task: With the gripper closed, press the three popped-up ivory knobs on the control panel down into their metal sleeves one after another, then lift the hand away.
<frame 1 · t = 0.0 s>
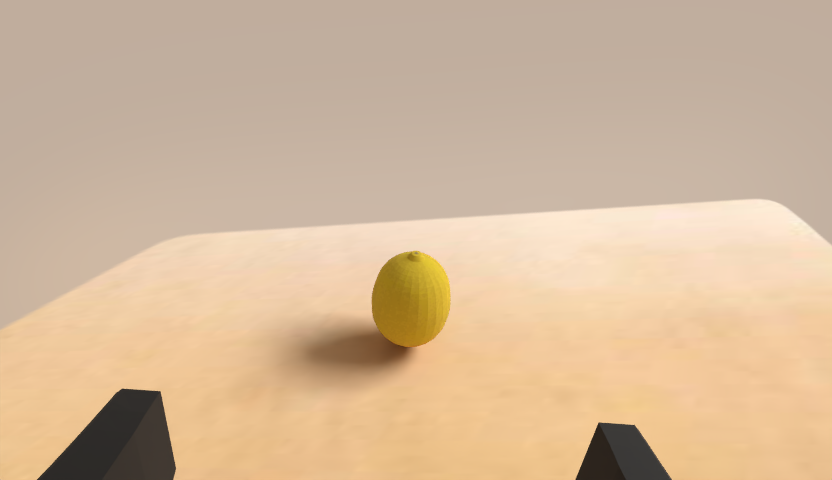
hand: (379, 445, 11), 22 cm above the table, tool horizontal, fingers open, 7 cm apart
lemon: (405, 346, 47), on the table
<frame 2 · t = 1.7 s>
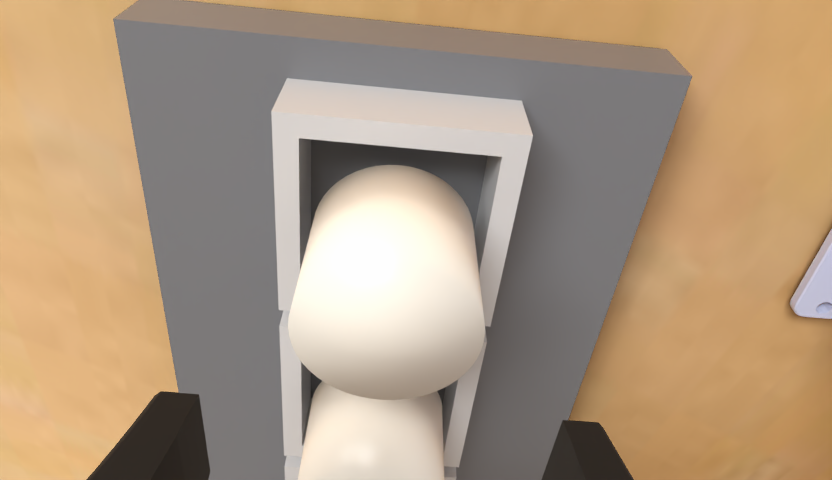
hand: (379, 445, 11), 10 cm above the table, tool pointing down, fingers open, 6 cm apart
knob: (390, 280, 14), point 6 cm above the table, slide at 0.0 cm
knob mid: (373, 457, 18), point 6 cm above the table, slide at 0.0 cm
panel: (383, 316, 23), on the table
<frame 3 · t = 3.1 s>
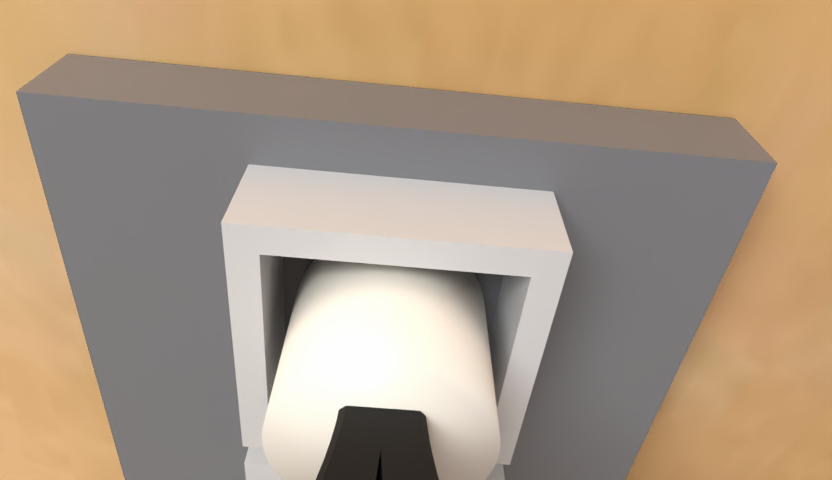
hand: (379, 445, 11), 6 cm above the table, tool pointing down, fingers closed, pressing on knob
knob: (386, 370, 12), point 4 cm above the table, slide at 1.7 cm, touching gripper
panel: (378, 415, 19), on the table
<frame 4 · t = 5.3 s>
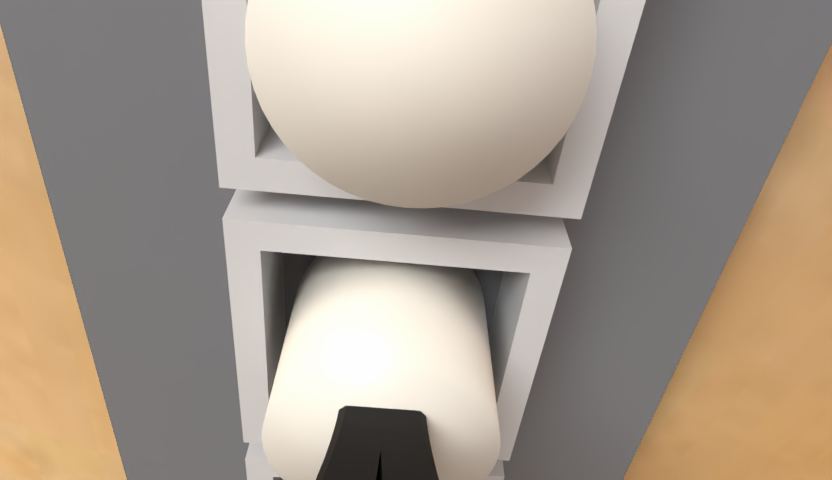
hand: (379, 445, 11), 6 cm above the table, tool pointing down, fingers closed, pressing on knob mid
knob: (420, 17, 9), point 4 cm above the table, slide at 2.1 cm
knob mid: (386, 369, 12), point 4 cm above the table, slide at 1.6 cm, touching gripper
panel: (394, 239, 16), on the table
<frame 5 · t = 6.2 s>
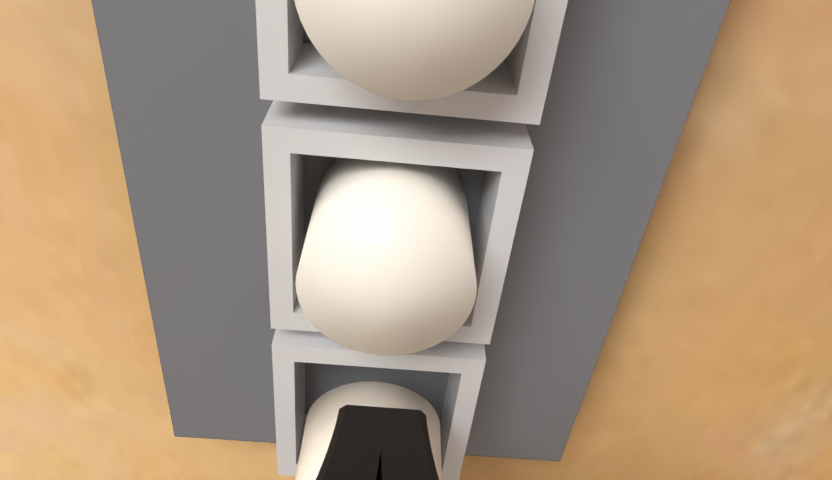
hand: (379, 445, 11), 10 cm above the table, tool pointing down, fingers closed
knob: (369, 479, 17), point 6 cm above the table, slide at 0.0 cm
knob mid: (389, 245, 15), point 4 cm above the table, slide at 2.1 cm
panel: (394, 168, 19), on the table
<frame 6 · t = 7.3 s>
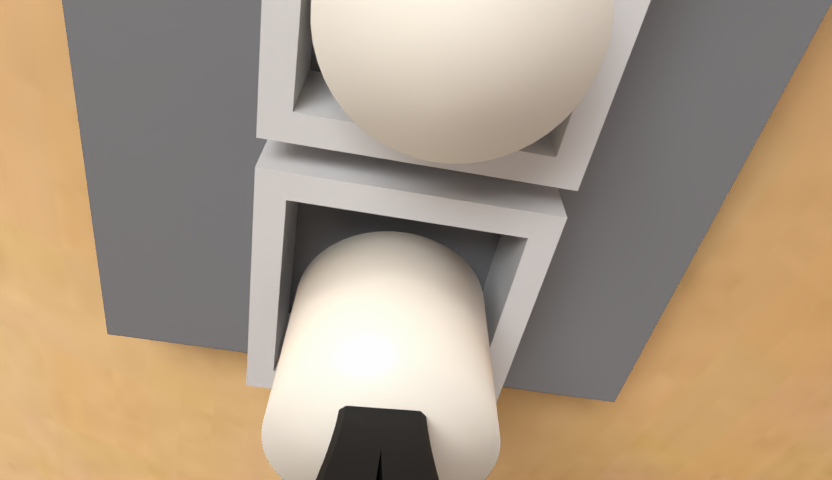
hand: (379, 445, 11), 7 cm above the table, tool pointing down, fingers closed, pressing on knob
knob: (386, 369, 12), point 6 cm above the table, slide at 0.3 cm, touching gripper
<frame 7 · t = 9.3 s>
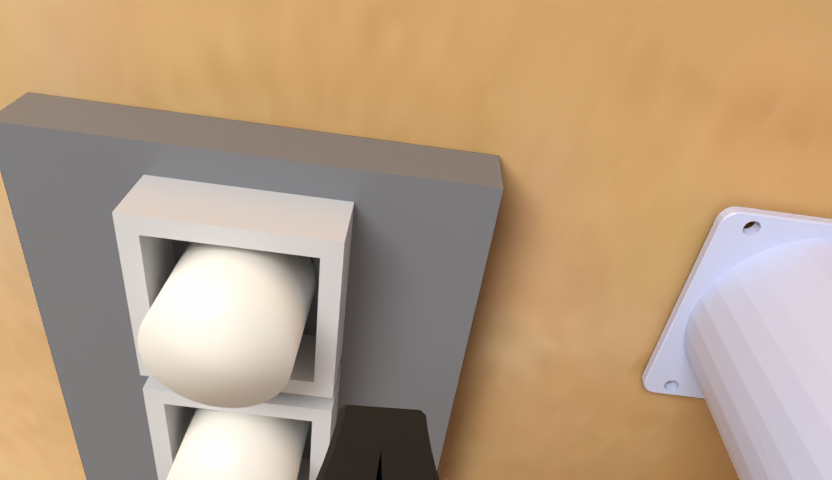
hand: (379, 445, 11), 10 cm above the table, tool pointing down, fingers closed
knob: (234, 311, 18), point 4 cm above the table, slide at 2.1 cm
knob mid: (241, 455, 22), point 4 cm above the table, slide at 2.1 cm
panel: (268, 371, 25), on the table
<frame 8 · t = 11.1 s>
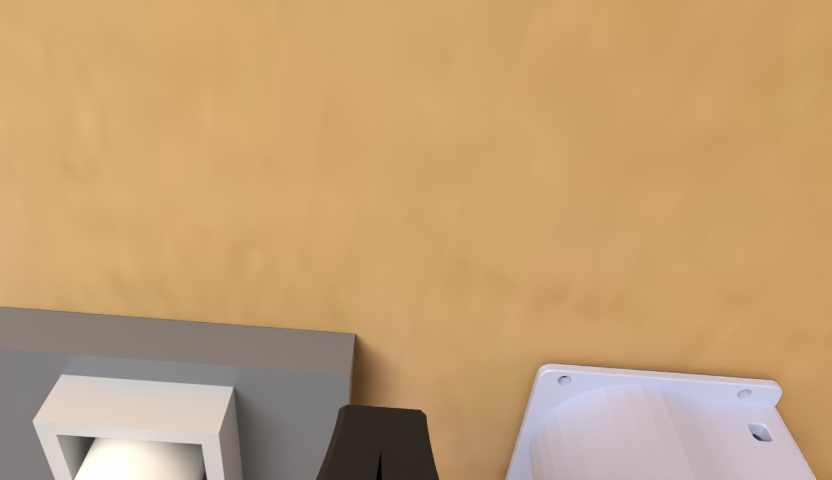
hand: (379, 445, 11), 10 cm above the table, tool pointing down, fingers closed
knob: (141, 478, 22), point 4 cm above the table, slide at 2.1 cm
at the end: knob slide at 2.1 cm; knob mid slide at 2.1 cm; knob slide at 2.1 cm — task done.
